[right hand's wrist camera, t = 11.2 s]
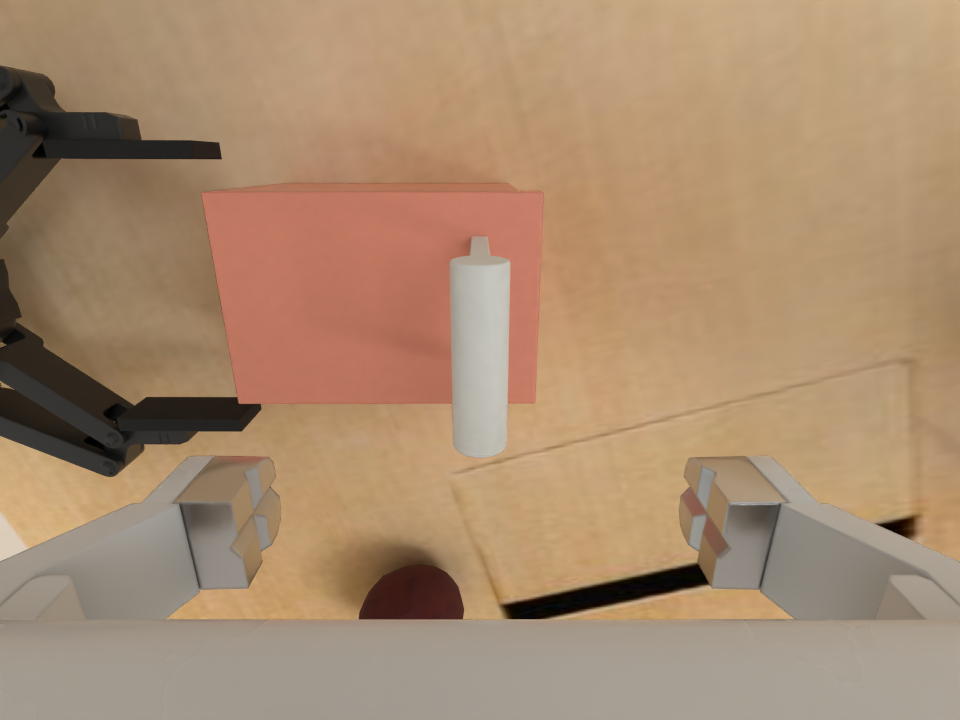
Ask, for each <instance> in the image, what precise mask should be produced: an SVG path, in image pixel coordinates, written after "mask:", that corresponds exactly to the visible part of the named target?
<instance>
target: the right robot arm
mask: <svg viewBox="0 0 960 720" xmlns="http://www.w3.org/2000/svg"><path fill="white" fill-rule="evenodd" d="M275 478H276V473H275V468H274V463H273V461H272V460H271V459H270V458H269V457H249V456H191V457H187V458H186V459H185V460H184V461H183V462H182V463H181V464H180V465H179V466H178V467H177V468H176V469H175V470H174V471H173V472H172V473H171V474H170V475H169V476H168V477H167V478H166V479H165V480H164V481H163V482H162V483H161V484H160V485H159V486H158V487H157V488H156V489H155V490H154V491H153V492H152V493H151V494H150V495H149V496H148V497H147V498H146V499H145V500H144V501H143V502H142V503H132V504H130V505H127V506H125V507H123V508H121V509H118V510H116V511H114V512H112V513H109V514H107V515H105V516H102V517H100V518H98V519H96V520H93V521H91V522H89V523H87V524H84V525H82V526H80V527H77V528H75V529H73V530H71V531H68V532H66V533H64V534H62V535H59V536H57V537H55V538H52V539H50V540H48V541H46V542H43V543H41V544H39V545H36V546H34V547H32V548H30V549H27V550H25V551H23V552H21V553H18V554H16V555H14V556H12V557H9V558H7V559H5V560H2V561H0V720H960V561H957V560H955V559H953V558H950V557H948V556H946V555H944V554H941V553H939V552H937V551H935V550H932V549H930V548H928V547H926V546H923V545H921V544H919V543H916V542H914V541H912V540H910V539H907V538H905V537H903V536H901V535H898V534H896V533H894V532H891V531H889V530H887V529H885V528H882V527H880V526H878V525H876V524H873V523H871V522H869V521H867V520H864V519H862V518H860V517H857V516H855V515H853V514H851V513H848V512H846V511H844V510H842V509H839V508H837V507H835V506H832V505H830V504H828V503H818V502H817V501H816V500H815V499H814V498H813V497H812V496H811V495H810V494H809V493H808V492H807V491H806V490H805V489H804V488H803V487H802V486H801V485H800V484H799V483H798V482H797V481H796V480H795V479H794V478H793V477H792V476H791V475H790V474H789V473H788V472H787V471H786V470H785V469H784V468H783V467H782V466H781V465H780V464H779V463H778V462H777V461H776V460H775V459H774V458H773V457H770V456H767V455H762V456H731V457H694V458H689V459H688V462H687V464H686V467H685V473H684V478H685V479H686V481H687V482H688V484H689V486H690V487H689V488H688V489H687V490H686V491H685V492H684V493H683V494H682V495H681V498H680V506H679V518H680V526H681V529H682V533H683V536H684V538H685V540H686V541H687V543H688V545H689V546H691V547H692V548H694V549H695V550H697V551H698V552H699V555H698V561H697V562H698V564H699V565H700V567H701V569H702V571H703V573H704V574H705V576H706V578H707V580H708V582H709V583H710V585H711V587H712V588H717V589H754V590H760V592H761V593H762V594H763V595H765V596H766V597H767V598H769V599H770V600H771V601H772V602H774V603H775V604H776V605H778V606H779V607H780V608H781V609H783V610H784V611H785V612H786V613H788V614H789V615H790V616H792V617H793V618H794V619H622V620H341V619H166V618H167V617H169V616H170V615H171V614H172V613H174V612H175V611H176V610H178V609H179V608H180V607H181V606H183V605H184V604H185V603H187V602H188V601H189V600H190V599H192V598H193V597H194V596H195V595H197V594H198V593H199V592H200V590H206V589H241V588H248V587H249V585H250V584H251V582H252V580H253V578H254V576H255V575H256V573H257V571H258V569H259V567H260V565H261V564H262V562H263V561H262V555H261V552H262V551H263V550H265V549H266V548H268V547H269V546H271V545H272V543H273V541H274V539H275V537H276V536H277V533H278V529H279V525H280V520H281V504H280V498H279V495H278V494H277V493H276V492H275V491H274V490H273V489H272V488H271V487H270V486H271V484H272V482H273V481H274V479H275Z"/></svg>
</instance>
